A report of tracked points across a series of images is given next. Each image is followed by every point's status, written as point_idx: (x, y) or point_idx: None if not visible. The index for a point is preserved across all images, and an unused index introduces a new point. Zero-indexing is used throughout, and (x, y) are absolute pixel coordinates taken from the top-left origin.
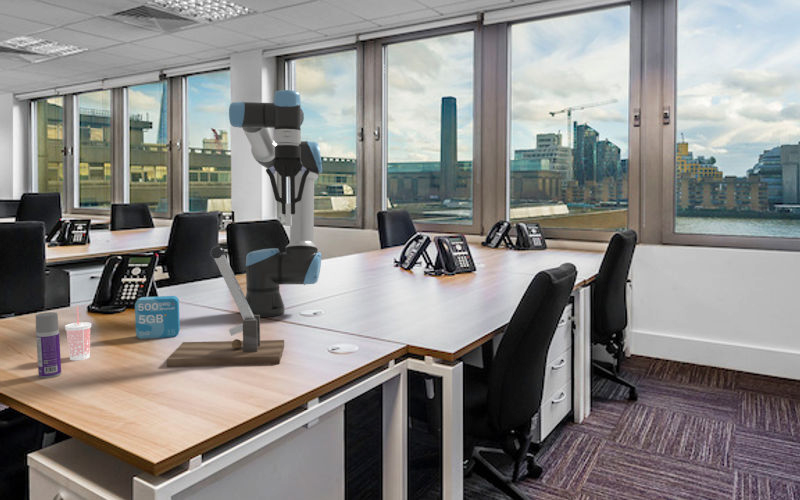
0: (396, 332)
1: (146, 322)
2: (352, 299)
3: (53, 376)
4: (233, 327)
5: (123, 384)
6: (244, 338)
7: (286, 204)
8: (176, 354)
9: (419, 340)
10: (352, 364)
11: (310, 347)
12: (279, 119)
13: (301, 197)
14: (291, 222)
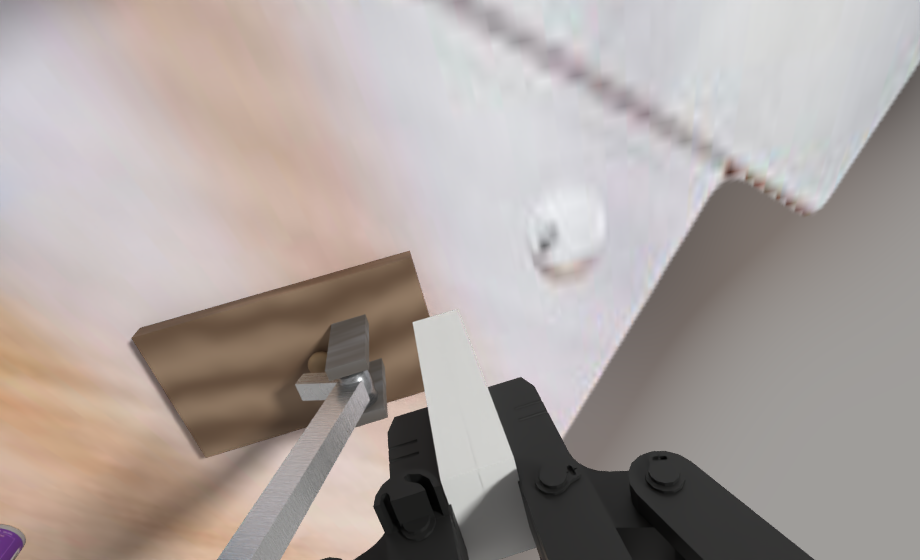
0: (713, 25)
1: None
2: None
3: (23, 546)
4: (305, 386)
5: (204, 532)
6: None
7: (480, 555)
8: (201, 427)
9: (766, 116)
10: (600, 342)
11: (481, 242)
12: None
13: (720, 508)
14: (463, 326)
